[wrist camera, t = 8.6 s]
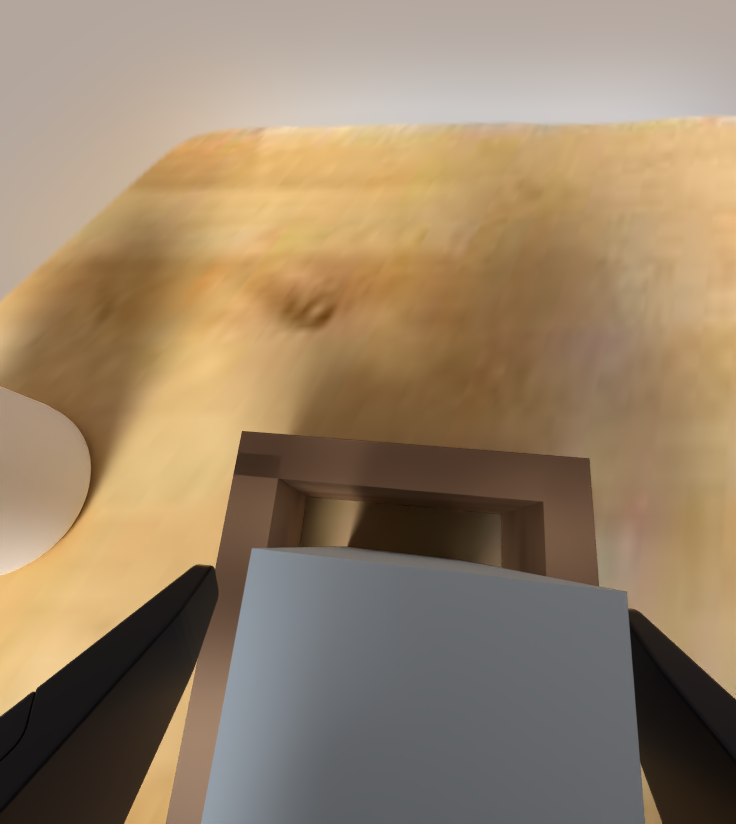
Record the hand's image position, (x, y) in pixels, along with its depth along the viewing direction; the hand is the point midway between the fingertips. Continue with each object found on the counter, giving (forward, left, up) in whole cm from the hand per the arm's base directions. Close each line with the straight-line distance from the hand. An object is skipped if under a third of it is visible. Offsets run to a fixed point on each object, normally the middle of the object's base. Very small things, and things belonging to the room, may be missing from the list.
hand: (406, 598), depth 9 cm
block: (-1, +1, -8) cm, 8 cm away
